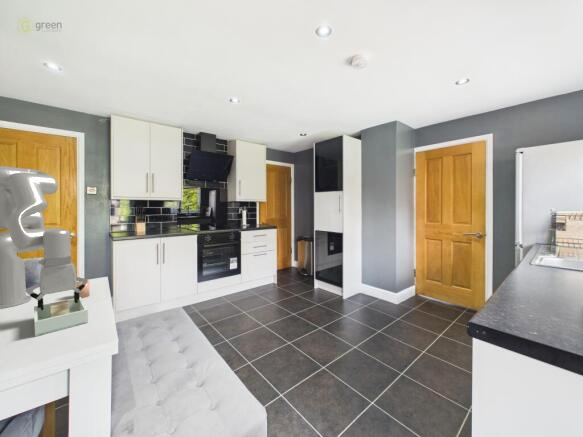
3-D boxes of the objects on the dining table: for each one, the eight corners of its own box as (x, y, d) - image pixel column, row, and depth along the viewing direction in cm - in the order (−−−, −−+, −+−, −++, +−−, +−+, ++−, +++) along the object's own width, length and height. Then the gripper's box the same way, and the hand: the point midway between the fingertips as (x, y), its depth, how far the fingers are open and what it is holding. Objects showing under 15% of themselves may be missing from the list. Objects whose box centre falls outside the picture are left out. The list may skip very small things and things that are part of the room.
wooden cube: (51, 320, 91) (50, 307, 91) (50, 316, 94) (50, 303, 94) (69, 316, 95) (68, 303, 94) (68, 312, 98) (67, 299, 98)
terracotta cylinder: (73, 297, 114) (72, 283, 114) (84, 294, 119) (83, 280, 119) (81, 298, 113) (80, 284, 113) (92, 295, 118) (91, 280, 118)
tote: (34, 319, 93) (34, 306, 93) (81, 308, 103) (80, 297, 102) (35, 336, 81) (34, 322, 81) (87, 322, 91) (87, 309, 91)
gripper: (24, 267, 84) (26, 315, 85) (88, 259, 97) (89, 301, 98) (24, 263, 90) (26, 309, 91) (85, 256, 102) (87, 296, 103)
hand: (59, 305), depth 94 cm, fingers open, 9 cm apart
